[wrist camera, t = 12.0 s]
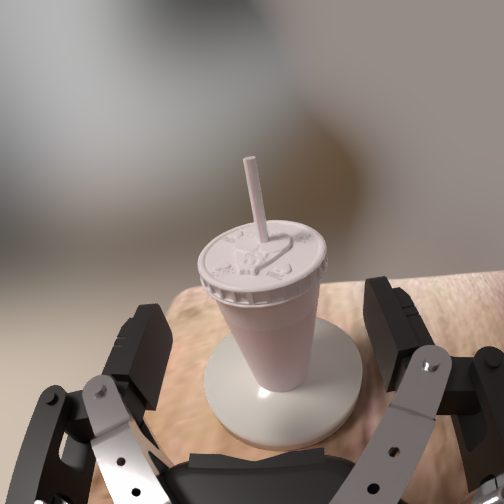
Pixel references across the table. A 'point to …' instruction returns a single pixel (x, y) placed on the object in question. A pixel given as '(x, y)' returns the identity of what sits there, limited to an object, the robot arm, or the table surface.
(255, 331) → the smoothie
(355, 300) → the table surface
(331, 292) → the table surface
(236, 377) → the trivet
